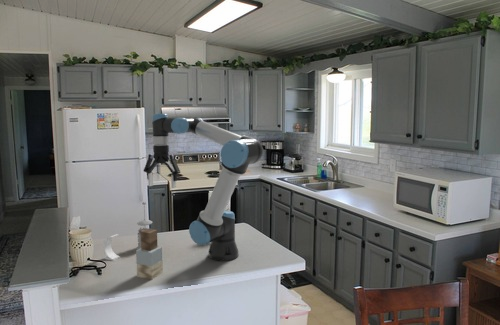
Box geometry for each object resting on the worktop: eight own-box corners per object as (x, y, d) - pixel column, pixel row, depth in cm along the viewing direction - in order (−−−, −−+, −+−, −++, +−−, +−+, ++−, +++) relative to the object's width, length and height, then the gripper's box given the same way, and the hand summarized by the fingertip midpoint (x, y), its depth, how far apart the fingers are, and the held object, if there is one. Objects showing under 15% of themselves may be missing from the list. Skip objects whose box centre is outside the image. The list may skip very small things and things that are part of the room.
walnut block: (157, 247, 181) (156, 230, 180) (150, 250, 177) (149, 233, 176) (148, 246, 183) (147, 228, 182) (141, 249, 179) (140, 231, 178)
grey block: (162, 260, 183) (161, 247, 182) (151, 266, 175) (151, 252, 175) (147, 257, 186) (146, 245, 185) (136, 263, 178) (136, 250, 177)
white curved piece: (113, 260, 199) (112, 236, 197) (103, 259, 201) (102, 235, 200) (119, 257, 203) (118, 234, 201) (110, 256, 205) (109, 233, 204)
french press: (157, 245, 222) (156, 200, 219) (150, 252, 211) (148, 204, 208) (140, 244, 223) (138, 199, 220) (132, 251, 212) (130, 204, 209)
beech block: (162, 272, 183) (162, 260, 183) (152, 279, 176) (152, 266, 175) (147, 270, 186) (147, 257, 186) (137, 276, 179) (136, 263, 178)
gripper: (186, 144, 201) (187, 187, 204) (144, 143, 211) (146, 184, 213) (178, 145, 194) (179, 189, 197) (135, 144, 204) (137, 186, 206)
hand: (162, 186), depth 205 cm, fingers open, 13 cm apart
